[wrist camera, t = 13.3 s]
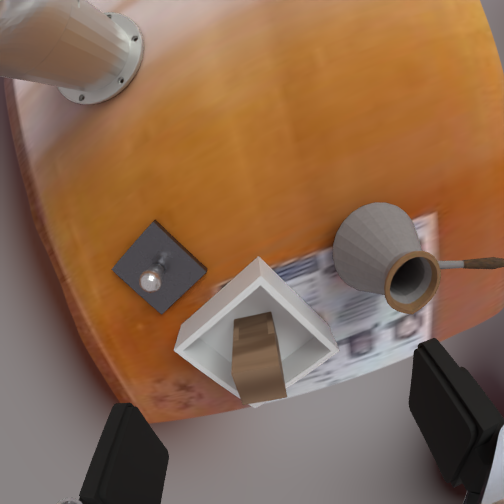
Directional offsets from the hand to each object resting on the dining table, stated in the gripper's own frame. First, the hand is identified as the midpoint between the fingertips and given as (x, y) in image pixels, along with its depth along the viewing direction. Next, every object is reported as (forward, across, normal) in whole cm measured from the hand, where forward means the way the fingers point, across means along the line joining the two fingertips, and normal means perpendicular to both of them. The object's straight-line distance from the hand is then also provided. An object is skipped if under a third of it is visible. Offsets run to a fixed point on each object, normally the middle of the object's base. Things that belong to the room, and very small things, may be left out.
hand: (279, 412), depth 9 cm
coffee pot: (+31, -18, +8) cm, 36 cm away
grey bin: (+30, +4, +16) cm, 34 cm away
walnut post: (+29, +3, +16) cm, 34 cm away
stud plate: (+30, +14, +4) cm, 34 cm away
